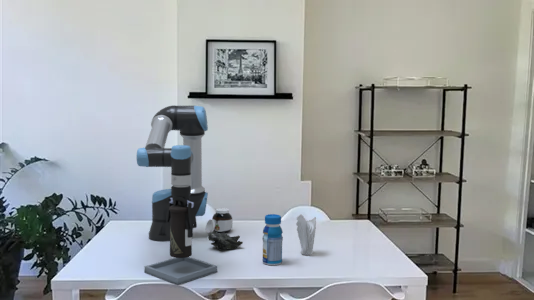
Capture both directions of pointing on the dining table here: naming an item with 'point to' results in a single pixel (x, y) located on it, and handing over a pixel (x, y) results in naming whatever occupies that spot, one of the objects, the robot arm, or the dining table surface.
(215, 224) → the spread jar
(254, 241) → the dining table surface
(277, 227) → the beverage bottle
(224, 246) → the mineral specimen
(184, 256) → the container
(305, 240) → the shell sculpture
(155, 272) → the tray
